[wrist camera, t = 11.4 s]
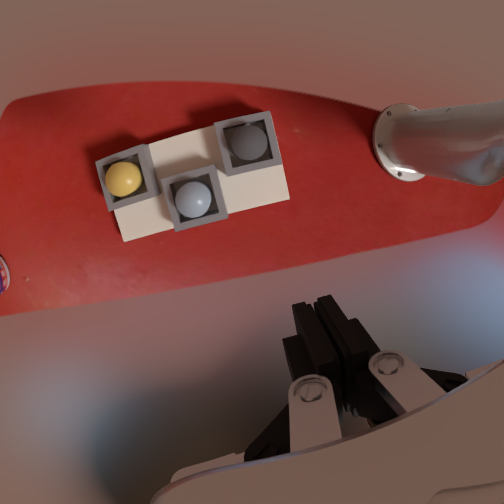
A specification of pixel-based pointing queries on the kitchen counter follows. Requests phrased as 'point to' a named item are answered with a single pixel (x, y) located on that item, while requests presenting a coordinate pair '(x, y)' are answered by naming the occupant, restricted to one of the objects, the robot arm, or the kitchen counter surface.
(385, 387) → the robot arm
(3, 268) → the pill bottle
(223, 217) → the console
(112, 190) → the mustard button
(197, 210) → the slate button
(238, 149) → the charcoal button
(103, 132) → the kitchen counter surface
